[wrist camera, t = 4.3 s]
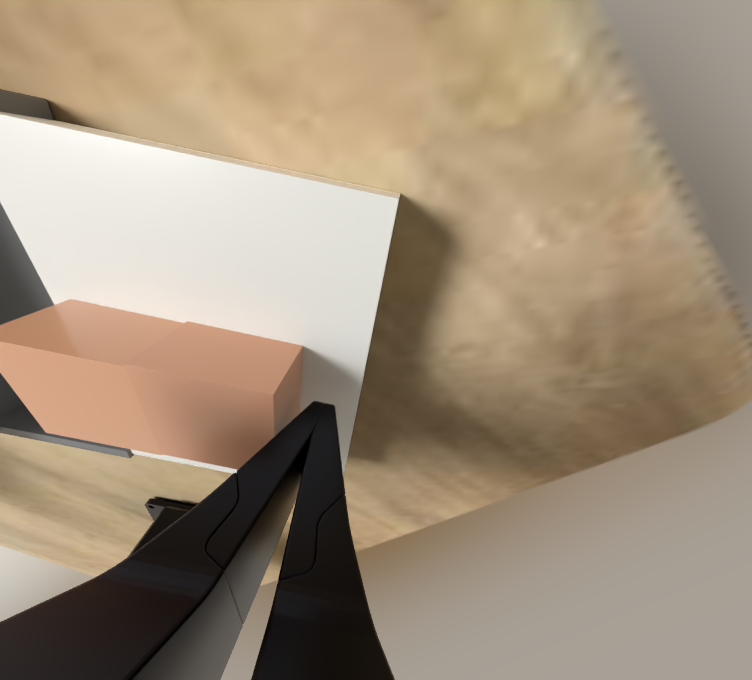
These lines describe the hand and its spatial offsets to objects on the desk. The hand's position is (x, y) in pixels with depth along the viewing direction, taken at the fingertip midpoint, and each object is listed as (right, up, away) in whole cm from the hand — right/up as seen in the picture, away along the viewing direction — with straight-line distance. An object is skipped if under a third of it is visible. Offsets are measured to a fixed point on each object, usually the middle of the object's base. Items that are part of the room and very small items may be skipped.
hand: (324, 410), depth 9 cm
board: (-4, +3, +3) cm, 6 cm away
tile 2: (-7, +2, +1) cm, 7 cm away
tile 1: (-3, +1, +1) cm, 3 cm away
